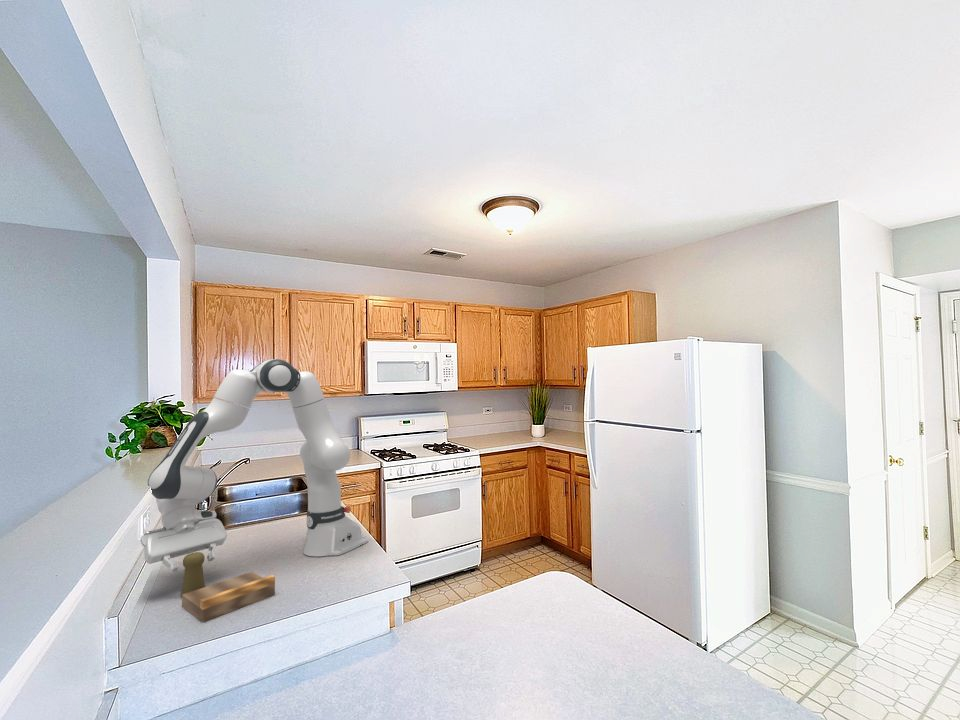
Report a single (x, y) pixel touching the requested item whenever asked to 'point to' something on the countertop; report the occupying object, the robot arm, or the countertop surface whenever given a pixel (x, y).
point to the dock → (227, 606)
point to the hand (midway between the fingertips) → (193, 565)
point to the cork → (193, 572)
